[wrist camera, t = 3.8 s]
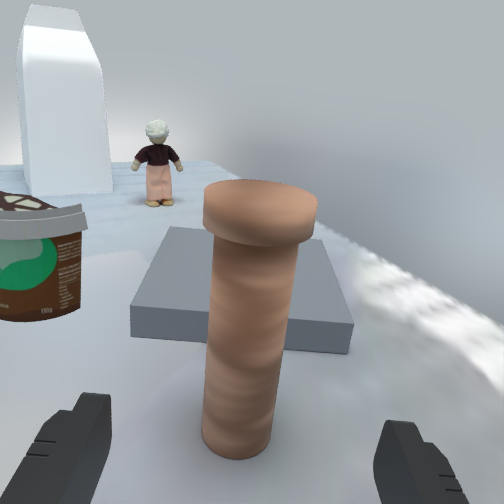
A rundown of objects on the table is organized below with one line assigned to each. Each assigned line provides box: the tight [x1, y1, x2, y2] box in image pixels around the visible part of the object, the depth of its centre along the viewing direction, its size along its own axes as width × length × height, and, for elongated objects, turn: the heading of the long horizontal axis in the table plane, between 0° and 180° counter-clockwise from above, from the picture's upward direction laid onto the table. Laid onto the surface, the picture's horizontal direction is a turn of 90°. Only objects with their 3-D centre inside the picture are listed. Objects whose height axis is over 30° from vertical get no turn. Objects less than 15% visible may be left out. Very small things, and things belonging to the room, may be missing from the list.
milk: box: [16, 4, 113, 197], centre depth 67 cm, size 12×12×26 cm
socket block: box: [130, 226, 354, 354], centre depth 43 cm, size 18×18×3 cm
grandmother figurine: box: [131, 120, 183, 207], centre depth 65 cm, size 8×4×13 cm, turn 128°
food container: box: [0, 191, 88, 322], centre depth 36 cm, size 12×6×10 cm, turn 64°
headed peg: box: [201, 179, 318, 459], centre depth 24 cm, size 6×6×16 cm
